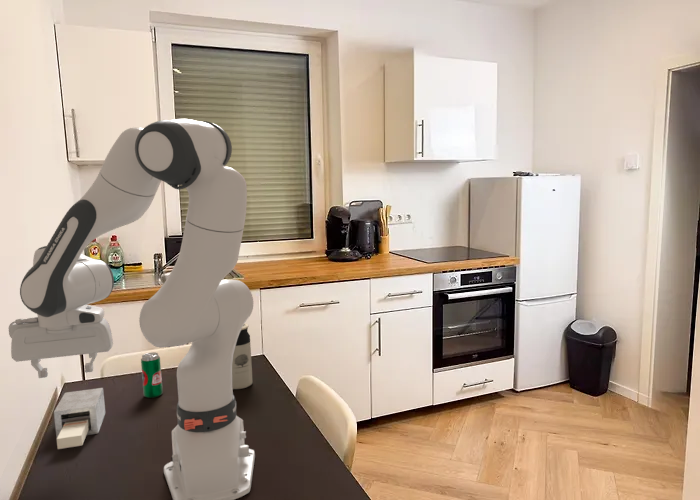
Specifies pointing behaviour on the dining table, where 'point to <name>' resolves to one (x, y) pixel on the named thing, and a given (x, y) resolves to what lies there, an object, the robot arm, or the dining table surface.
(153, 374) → the soda can
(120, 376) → the dining table surface
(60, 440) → the ticket
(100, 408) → the dispenser
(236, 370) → the white bottle
